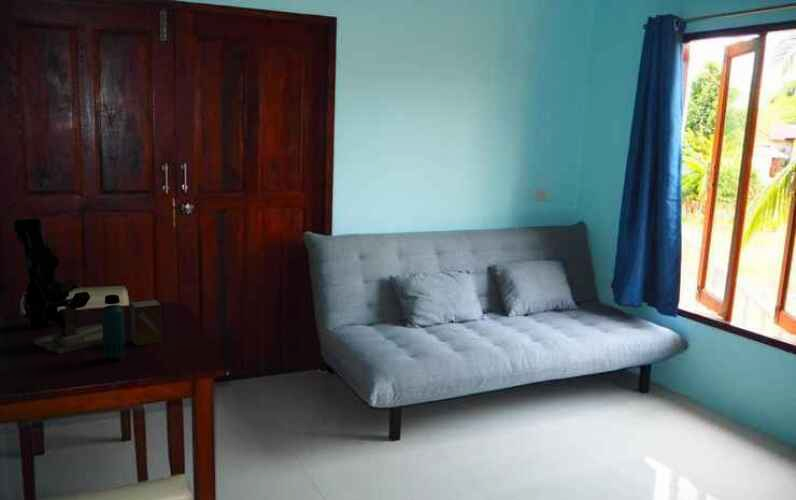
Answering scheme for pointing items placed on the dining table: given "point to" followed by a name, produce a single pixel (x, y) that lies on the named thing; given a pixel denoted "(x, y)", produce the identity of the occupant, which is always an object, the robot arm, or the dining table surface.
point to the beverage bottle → (113, 328)
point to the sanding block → (68, 330)
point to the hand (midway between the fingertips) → (70, 326)
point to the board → (91, 336)
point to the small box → (146, 322)
